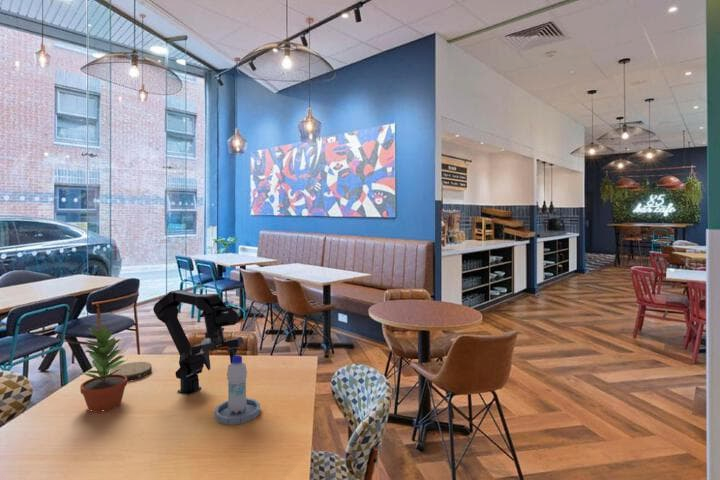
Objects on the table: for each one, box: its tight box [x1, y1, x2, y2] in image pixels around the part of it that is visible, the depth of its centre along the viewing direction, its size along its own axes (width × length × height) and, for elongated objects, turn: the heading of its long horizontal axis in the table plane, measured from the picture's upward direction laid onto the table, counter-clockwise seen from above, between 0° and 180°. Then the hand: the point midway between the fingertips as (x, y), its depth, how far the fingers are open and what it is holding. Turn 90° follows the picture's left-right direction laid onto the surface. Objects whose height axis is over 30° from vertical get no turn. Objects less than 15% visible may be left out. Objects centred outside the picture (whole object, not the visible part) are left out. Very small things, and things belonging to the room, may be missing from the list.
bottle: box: [226, 354, 248, 414], centre depth 140 cm, size 7×7×20 cm
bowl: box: [214, 397, 261, 426], centre depth 140 cm, size 15×15×2 cm
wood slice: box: [109, 361, 153, 382], centre depth 175 cm, size 16×16×3 cm
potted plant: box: [79, 325, 128, 411], centre depth 145 cm, size 15×15×30 cm
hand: (220, 368), depth 151 cm, fingers open, 9 cm apart
